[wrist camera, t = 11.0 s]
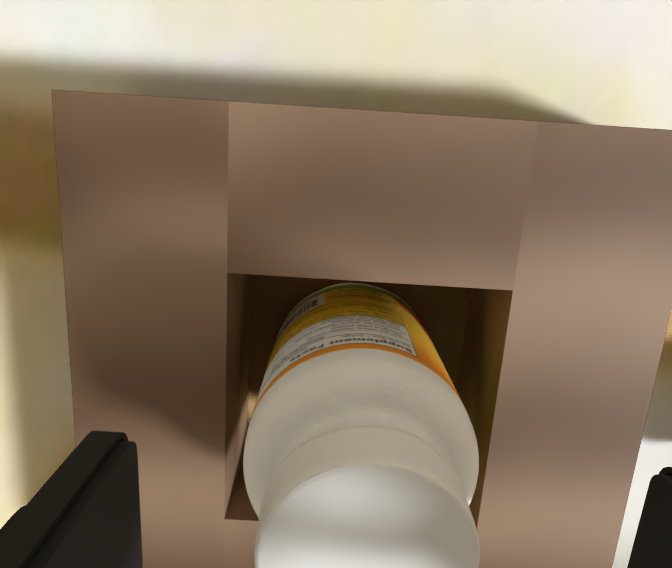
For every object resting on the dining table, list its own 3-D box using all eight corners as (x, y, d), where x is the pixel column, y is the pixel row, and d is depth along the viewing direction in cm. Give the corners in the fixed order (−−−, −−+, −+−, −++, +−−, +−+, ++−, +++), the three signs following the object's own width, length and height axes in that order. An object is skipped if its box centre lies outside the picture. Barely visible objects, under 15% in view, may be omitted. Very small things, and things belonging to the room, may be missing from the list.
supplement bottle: (420, 425, 19) (501, 692, 10) (273, 418, 19) (212, 679, 10) (435, 283, 18) (546, 433, 8) (277, 274, 18) (211, 416, 8)
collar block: (118, 103, 16) (51, 89, 13) (625, 136, 17) (712, 132, 13) (135, 536, 20) (88, 626, 17) (544, 558, 21) (592, 653, 17)
